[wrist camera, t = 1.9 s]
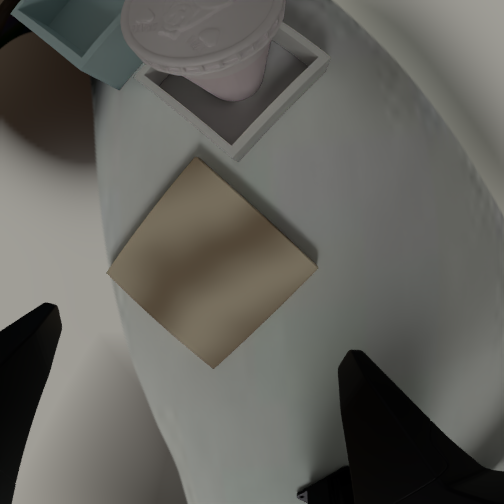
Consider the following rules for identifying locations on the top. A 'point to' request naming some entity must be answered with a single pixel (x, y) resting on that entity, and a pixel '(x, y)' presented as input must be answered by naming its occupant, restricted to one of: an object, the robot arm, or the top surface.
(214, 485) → the top surface
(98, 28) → the bin
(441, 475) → the robot arm
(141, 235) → the oak board
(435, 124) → the top surface
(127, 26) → the smoothie
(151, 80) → the grey tray
